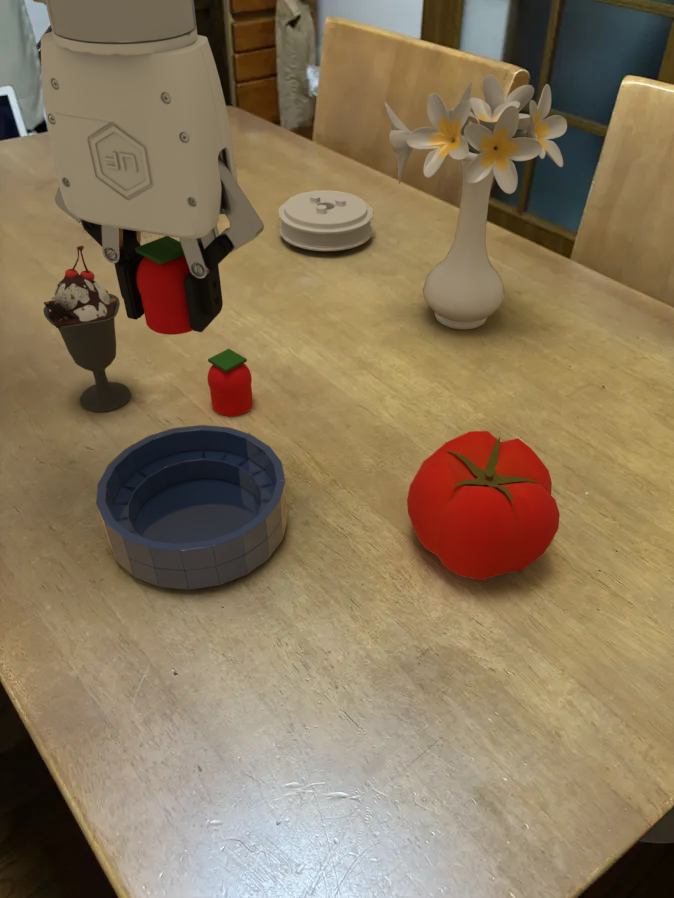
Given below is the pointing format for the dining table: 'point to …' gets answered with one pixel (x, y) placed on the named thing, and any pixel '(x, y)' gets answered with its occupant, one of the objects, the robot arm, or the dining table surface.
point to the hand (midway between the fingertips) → (174, 313)
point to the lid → (325, 220)
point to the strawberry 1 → (163, 286)
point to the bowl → (193, 506)
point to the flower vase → (476, 184)
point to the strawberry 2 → (230, 384)
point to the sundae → (89, 333)
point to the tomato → (483, 505)
